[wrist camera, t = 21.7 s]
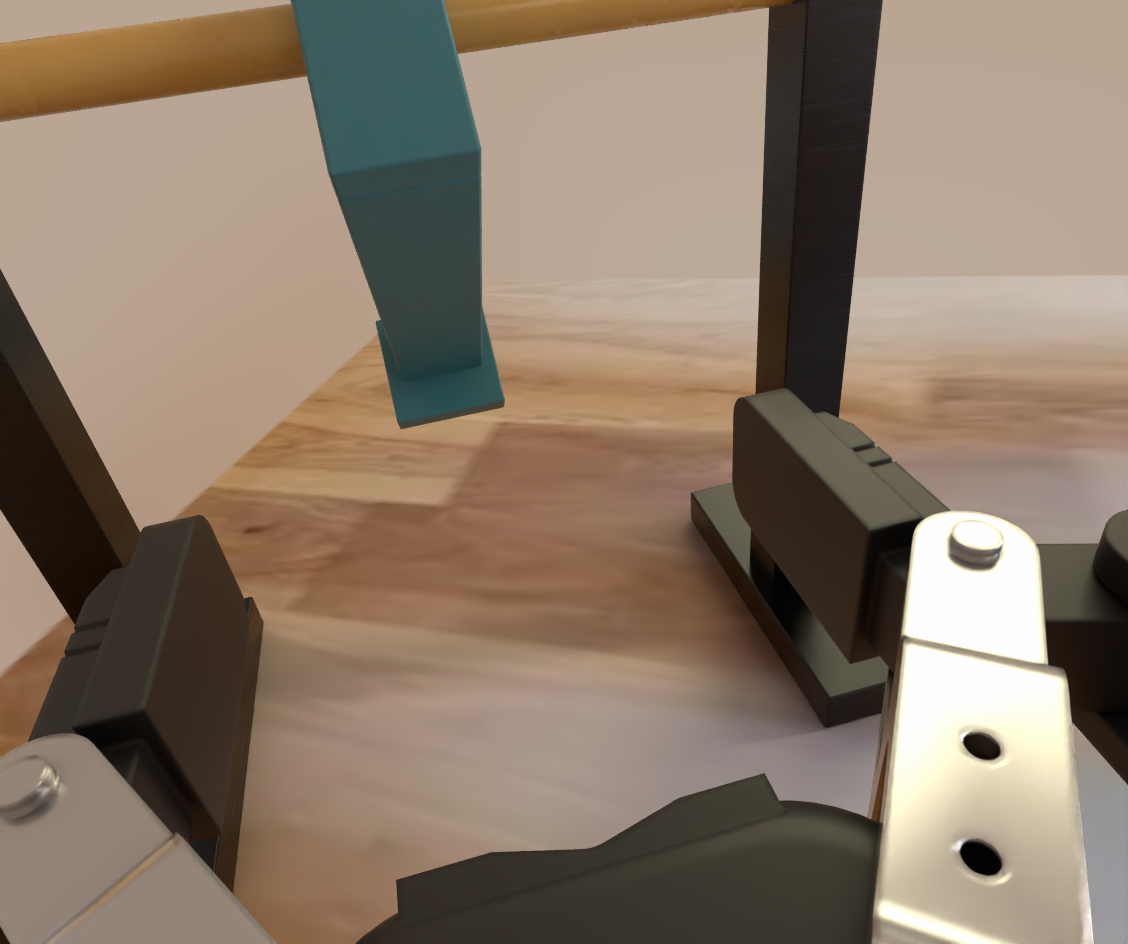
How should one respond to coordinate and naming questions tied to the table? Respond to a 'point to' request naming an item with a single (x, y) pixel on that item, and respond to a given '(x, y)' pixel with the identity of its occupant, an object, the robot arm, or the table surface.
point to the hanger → (407, 192)
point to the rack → (479, 22)
